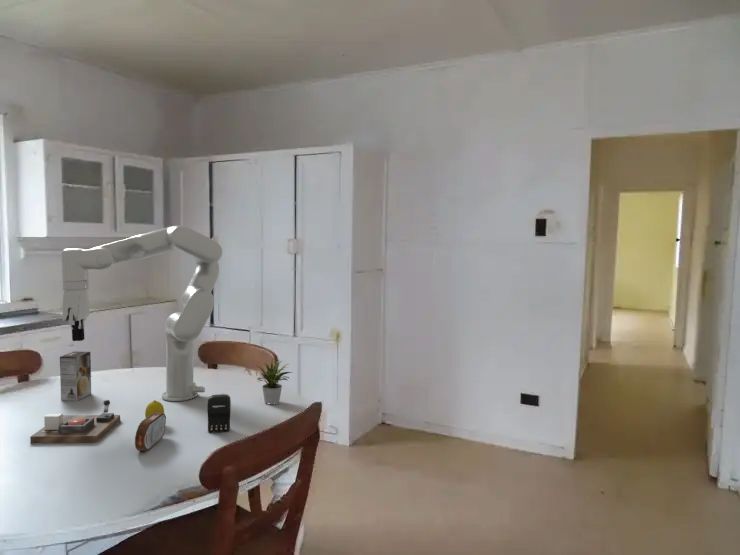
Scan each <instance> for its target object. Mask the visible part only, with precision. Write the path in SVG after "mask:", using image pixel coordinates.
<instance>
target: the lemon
mask: <svg viewBox="0 0 740 555" xmlns="http://www.w3.org/2000/svg"><path fill="white" fill-rule="evenodd" d="M154 412H157V413H164V414H165V408H164V405H163V403H161V402H160V401H159V400H158V401H157V400H152V401H151V402H150V403H147V406H146V408H145V413H144V414H145V415H144V416H145V419H146V418H147V417H148V416H150V415H151V414H153V413H154Z"/></svg>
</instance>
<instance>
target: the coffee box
mask: <svg viewBox="0 0 740 555" xmlns="http://www.w3.org/2000/svg"><path fill="white" fill-rule="evenodd" d="M91 363H92V362H91V351H72V352H69V353H67V354H64V355H61V356H59V371H60V372H59V374H60V375H59V377H60V378H59V379H60V383H59V384H60V401H71V400H74V401H73V402H77V401H79V400H82V399H83V398H85V397H88V396H89V395H91V394H92V367H91V366H92V364H91Z"/></svg>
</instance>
